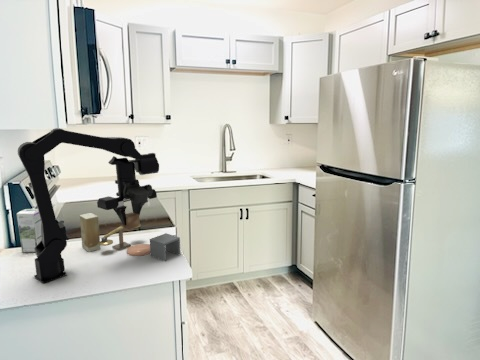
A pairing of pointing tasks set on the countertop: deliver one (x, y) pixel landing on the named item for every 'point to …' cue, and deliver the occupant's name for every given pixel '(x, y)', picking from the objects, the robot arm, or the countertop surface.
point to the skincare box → (90, 232)
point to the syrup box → (29, 229)
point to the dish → (138, 250)
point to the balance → (105, 242)
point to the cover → (164, 245)
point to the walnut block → (131, 221)
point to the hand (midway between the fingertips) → (130, 223)
